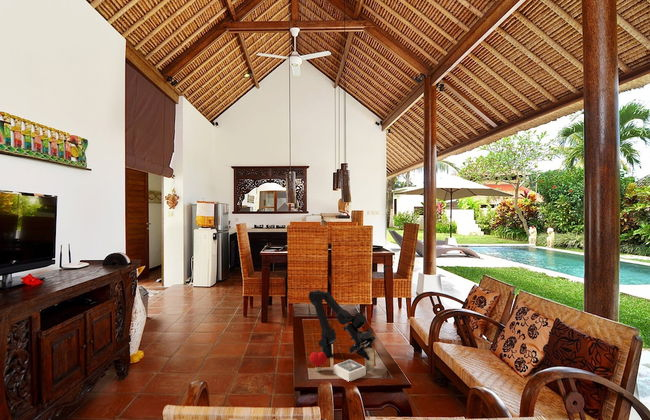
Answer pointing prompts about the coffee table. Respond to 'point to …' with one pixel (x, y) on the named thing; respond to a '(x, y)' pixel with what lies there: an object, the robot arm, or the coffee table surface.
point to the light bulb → (318, 359)
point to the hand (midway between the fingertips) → (371, 358)
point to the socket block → (349, 370)
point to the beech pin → (369, 363)
